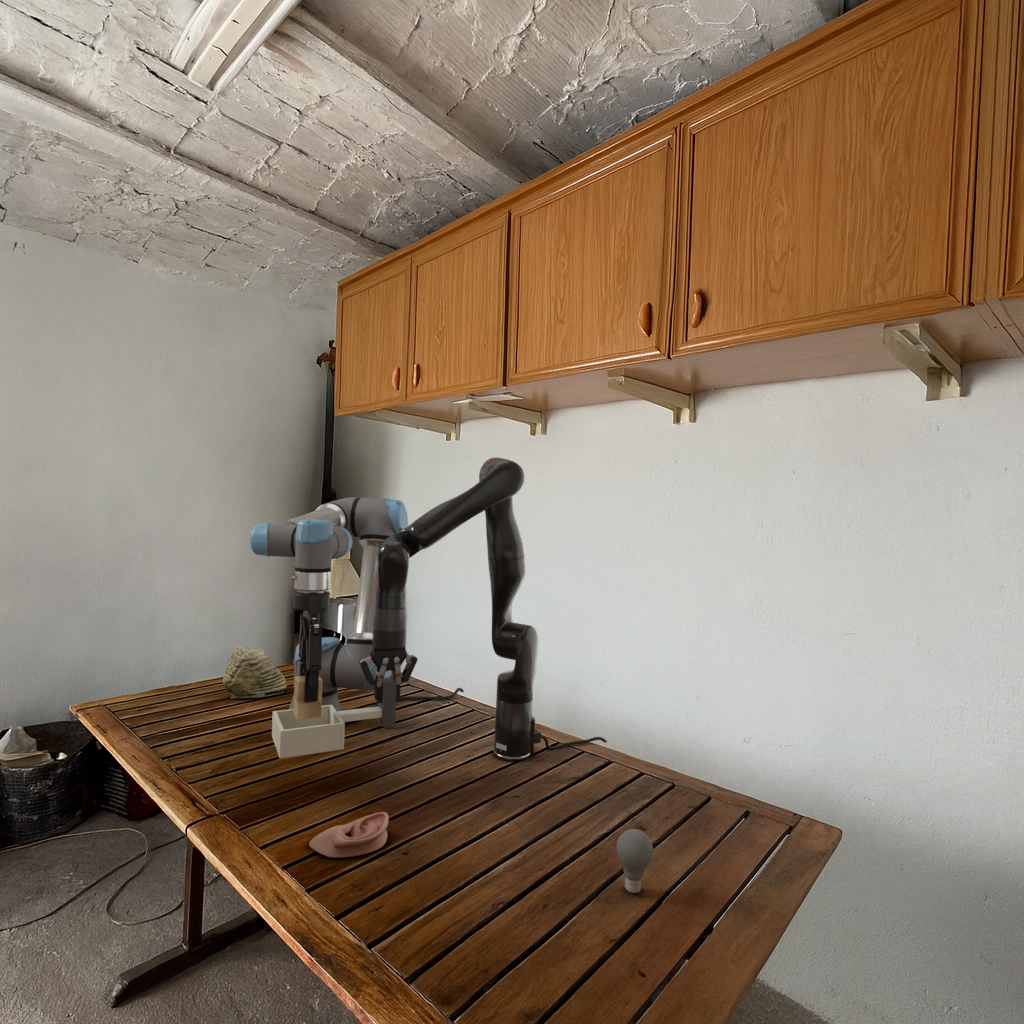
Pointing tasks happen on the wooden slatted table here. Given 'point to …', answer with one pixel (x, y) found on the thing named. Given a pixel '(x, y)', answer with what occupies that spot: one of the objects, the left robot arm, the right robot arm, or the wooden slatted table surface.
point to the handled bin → (327, 725)
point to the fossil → (252, 674)
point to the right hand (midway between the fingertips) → (387, 700)
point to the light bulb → (634, 857)
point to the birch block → (308, 708)
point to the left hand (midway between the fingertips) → (308, 696)
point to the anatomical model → (353, 837)
